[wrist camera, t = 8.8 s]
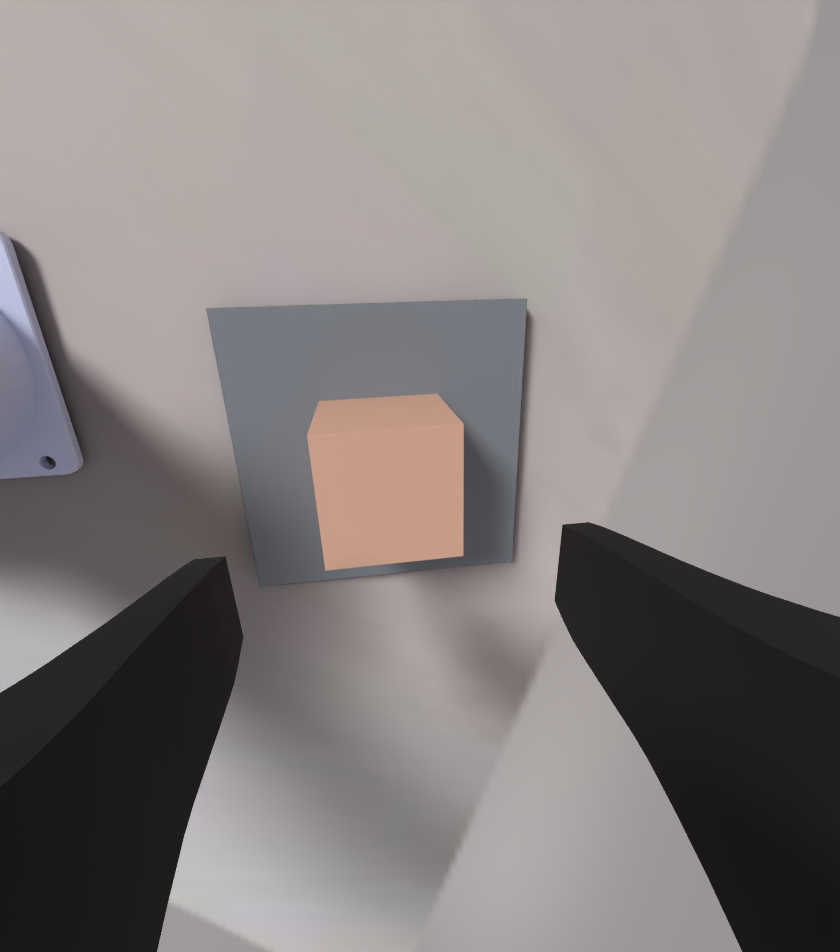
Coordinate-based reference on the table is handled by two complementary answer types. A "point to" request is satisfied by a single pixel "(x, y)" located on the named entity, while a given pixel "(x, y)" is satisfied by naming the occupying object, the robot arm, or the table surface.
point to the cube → (387, 480)
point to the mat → (367, 376)
